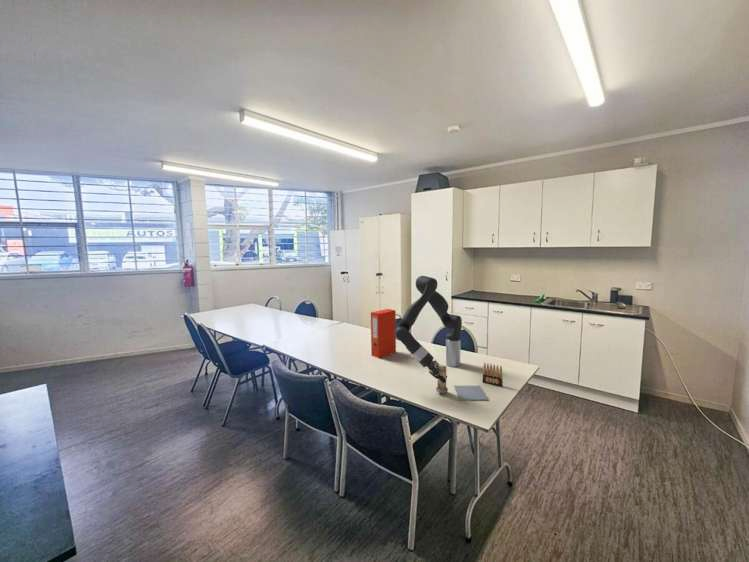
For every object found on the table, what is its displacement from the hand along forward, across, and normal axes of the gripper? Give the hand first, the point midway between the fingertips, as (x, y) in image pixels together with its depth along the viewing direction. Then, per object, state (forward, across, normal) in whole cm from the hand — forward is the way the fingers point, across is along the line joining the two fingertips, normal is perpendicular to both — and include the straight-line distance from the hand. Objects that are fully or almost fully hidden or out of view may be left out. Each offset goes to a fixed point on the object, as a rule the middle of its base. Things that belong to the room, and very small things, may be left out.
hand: (445, 379), depth 169 cm
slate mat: (+14, +4, -4) cm, 15 cm away
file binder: (-29, +51, +40) cm, 71 cm away
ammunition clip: (+23, +18, -12) cm, 31 cm away
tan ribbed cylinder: (+3, 0, +6) cm, 6 cm away
